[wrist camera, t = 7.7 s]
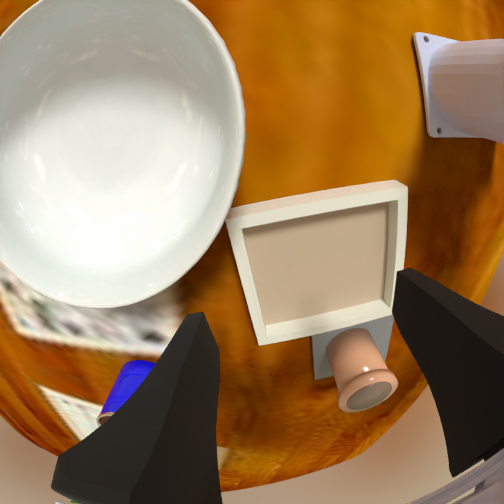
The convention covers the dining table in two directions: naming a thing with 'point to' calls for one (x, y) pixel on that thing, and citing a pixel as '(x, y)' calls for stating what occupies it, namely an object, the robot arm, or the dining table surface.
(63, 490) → the robot arm
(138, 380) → the hyacinth
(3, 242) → the cereal bowl
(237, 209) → the square beige tray
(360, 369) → the pot
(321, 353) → the coaster
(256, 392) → the dining table surface
